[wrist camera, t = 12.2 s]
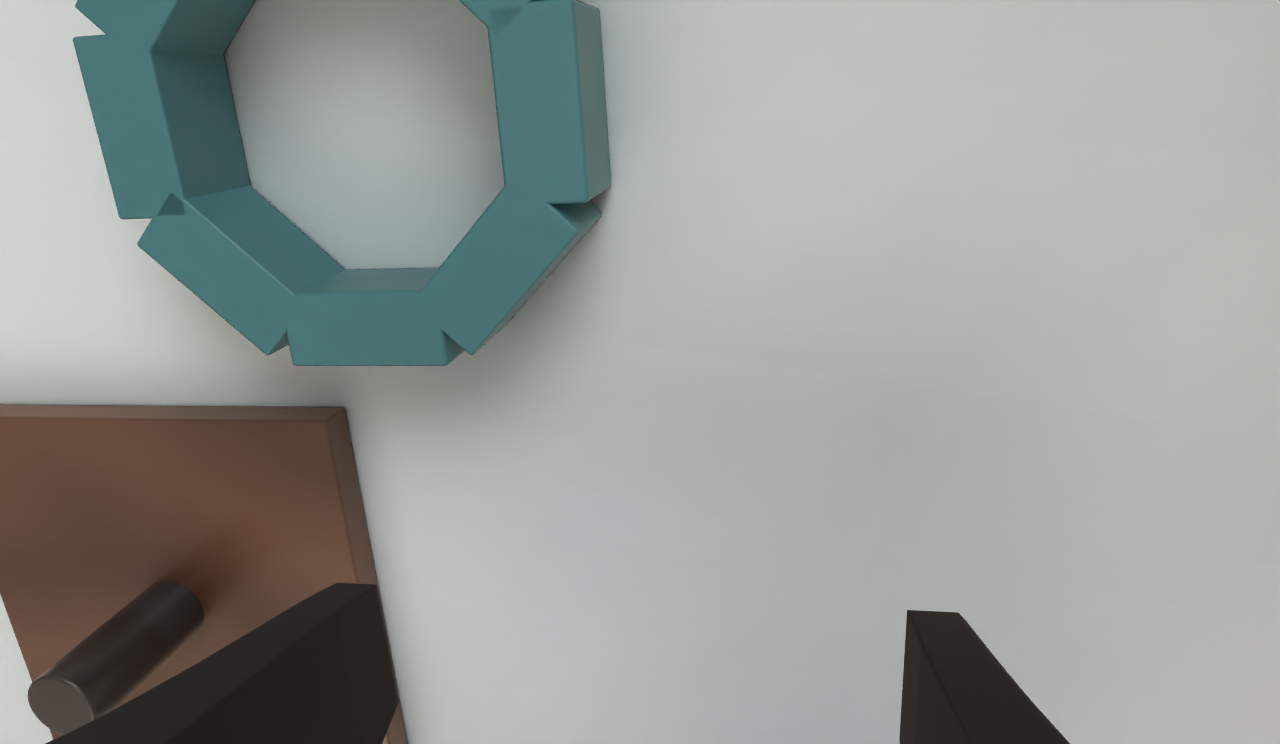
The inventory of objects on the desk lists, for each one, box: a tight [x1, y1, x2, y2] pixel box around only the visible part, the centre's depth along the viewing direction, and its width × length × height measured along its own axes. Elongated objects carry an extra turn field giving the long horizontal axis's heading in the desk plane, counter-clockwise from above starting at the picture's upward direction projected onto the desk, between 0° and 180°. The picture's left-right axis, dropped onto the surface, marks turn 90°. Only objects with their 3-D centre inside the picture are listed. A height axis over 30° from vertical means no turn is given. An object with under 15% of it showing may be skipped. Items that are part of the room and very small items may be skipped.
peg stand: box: [0, 404, 407, 744], centre depth 22 cm, size 12×12×5 cm
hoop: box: [73, 0, 611, 366], centre depth 18 cm, size 10×10×2 cm
